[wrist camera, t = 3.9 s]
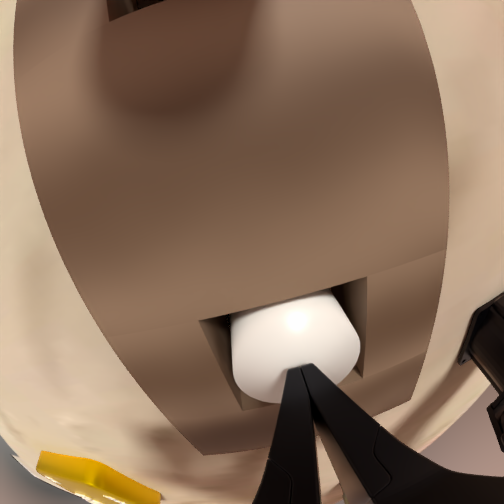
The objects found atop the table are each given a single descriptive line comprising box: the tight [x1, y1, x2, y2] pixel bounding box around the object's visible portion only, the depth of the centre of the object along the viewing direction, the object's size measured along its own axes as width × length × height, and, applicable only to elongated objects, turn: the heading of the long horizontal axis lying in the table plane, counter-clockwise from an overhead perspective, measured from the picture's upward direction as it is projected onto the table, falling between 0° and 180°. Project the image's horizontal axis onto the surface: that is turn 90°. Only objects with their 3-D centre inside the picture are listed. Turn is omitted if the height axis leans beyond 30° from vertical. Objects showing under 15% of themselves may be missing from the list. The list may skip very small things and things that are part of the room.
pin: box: [230, 288, 360, 403], centre depth 10 cm, size 4×4×4 cm
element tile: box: [36, 451, 161, 504], centre depth 22 cm, size 15×15×5 cm
